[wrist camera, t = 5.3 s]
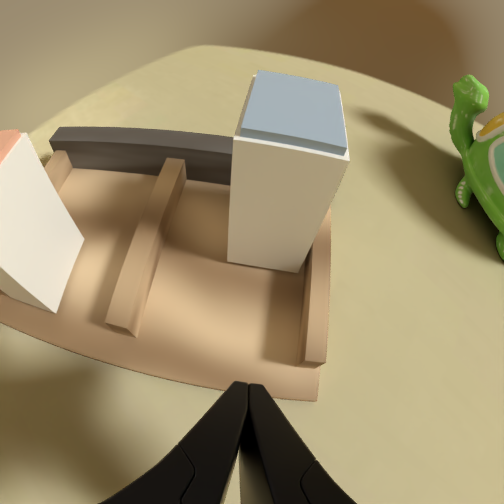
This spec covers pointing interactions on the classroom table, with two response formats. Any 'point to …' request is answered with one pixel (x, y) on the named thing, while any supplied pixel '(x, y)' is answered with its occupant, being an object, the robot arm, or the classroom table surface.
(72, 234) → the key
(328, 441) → the classroom table surface
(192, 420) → the classroom table surface
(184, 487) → the robot arm
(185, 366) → the wooden divided tray
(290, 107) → the blue-topped cream block
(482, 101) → the turtle holder
